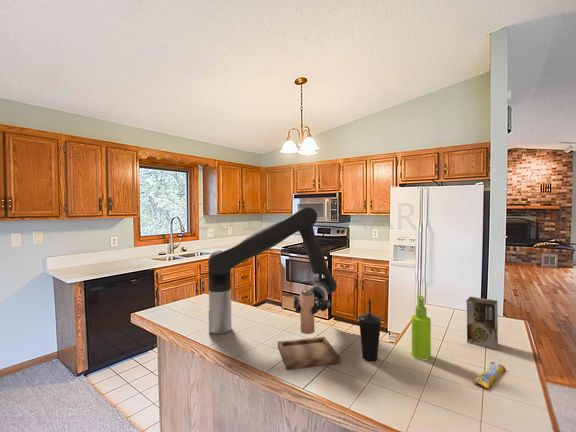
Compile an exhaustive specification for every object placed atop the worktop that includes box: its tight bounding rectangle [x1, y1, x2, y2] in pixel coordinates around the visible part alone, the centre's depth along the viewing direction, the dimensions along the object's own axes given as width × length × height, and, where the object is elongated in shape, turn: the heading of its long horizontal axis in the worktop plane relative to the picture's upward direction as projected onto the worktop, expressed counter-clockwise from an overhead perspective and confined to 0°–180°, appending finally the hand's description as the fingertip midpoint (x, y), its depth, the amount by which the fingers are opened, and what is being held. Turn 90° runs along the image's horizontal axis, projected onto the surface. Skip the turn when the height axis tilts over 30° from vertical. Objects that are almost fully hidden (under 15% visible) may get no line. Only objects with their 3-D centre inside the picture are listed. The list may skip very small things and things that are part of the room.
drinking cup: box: [357, 298, 382, 362], centre depth 99 cm, size 8×8×20 cm
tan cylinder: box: [299, 288, 316, 335], centre depth 101 cm, size 5×5×14 cm
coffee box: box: [465, 296, 499, 350], centre depth 109 cm, size 9×6×16 cm
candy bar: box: [471, 361, 506, 389], centre depth 87 cm, size 17×4×2 cm, turn 129°
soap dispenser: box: [411, 295, 432, 360], centre depth 100 cm, size 6×7×20 cm
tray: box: [277, 336, 341, 371], centre depth 102 cm, size 18×16×2 cm
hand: (305, 310), depth 99 cm, fingers closed on tan cylinder, 4 cm apart
